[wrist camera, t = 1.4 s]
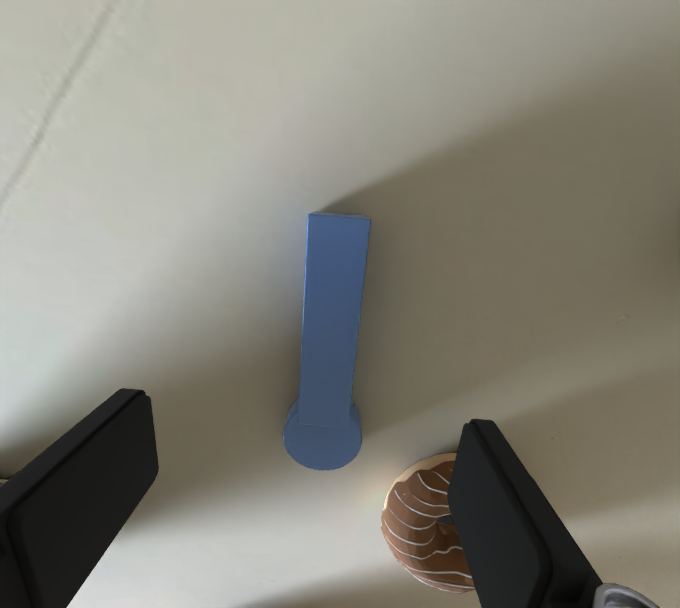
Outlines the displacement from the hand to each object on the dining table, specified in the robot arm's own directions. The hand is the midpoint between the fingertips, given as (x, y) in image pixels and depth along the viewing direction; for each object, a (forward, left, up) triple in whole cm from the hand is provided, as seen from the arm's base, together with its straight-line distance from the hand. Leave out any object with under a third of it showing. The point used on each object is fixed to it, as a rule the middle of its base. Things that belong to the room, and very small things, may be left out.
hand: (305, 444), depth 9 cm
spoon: (+2, 0, -11) cm, 11 cm away
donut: (+14, +10, -11) cm, 20 cm away
